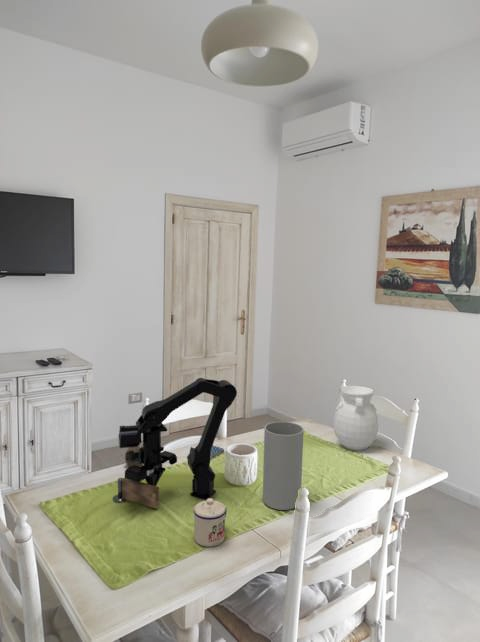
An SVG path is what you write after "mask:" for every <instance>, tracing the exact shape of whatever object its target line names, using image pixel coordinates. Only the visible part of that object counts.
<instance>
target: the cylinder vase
mask: <svg viewBox="0 0 480 642" xmlns="http://www.w3.org/2000/svg"><path fill="white" fill-rule="evenodd" d="M304 430H305V429H304V428H303V426H302V425H300V424H298V423H295V422H294V423H293V422H291V421H290V422H289V421H274V422H269V423H267V424H265V425H264V432H263V433H264V434H263V435H264V437H263V438H264V439H263V466H262V469H263V471H262V472H263V474H262V501H263V503H264V504H265V505H266V506H268V508H271V509H274V510H278V511H290V510H293V509H295V502H296V499H297V497H298V490H299V489H300V488H301V489H302V478H303V477H302V475H303V451H304V450H303V449H304Z"/></svg>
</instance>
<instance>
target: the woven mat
mask: <svg viewBox="0 0 480 642" xmlns="http://www.w3.org/2000/svg"><path fill="white" fill-rule="evenodd" d="M224 453H225V449H224V448H223V447H220V446H217V445H213V446H212V448H211V455H210V461H211V460H213V459H215V458H217V457H218V456H219V455H222V454H224Z"/></svg>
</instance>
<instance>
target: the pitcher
mask: <svg viewBox="0 0 480 642" xmlns="http://www.w3.org/2000/svg"><path fill="white" fill-rule="evenodd" d="M340 393H341V396H342V399H341V401H340V402H339V403H338V405H337V406H336V407H335V413H334V417H333V418H334V419H333V432H334V434H335V436H336V438H337V439H338V441H339V443H341V444H342V445H343V446H344V447H345V448H346V449H347V450H352V451H364V450H367V448H368V447H369V446H371V445H372V444H373V442H374V441H375V439H376V437H377V435H378V429H379V421H378V414H377V408H376V407H375V405H374V404H373V403H371V402H370V401H371V400H372V398H373V395H374V390H373V389H372V388H369V387H366V386H362V385H361V386H360V385H345V386H342V387H341V388H340Z"/></svg>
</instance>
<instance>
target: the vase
mask: <svg viewBox="0 0 480 642" xmlns="http://www.w3.org/2000/svg"><path fill="white" fill-rule="evenodd" d="M140 448H141V447H140V445H138V447H129V448H126V452H128V451H132V450H133V451H135V450H138V449H140ZM126 452H125V454H124V461H125V464H126V466H128V468H130V467H132V466H134V465H136V466H138V467H141V465H142V464H139V463H138V461H137V462H133V463H131V461H130V462H128V461H127V460H126Z"/></svg>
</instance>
